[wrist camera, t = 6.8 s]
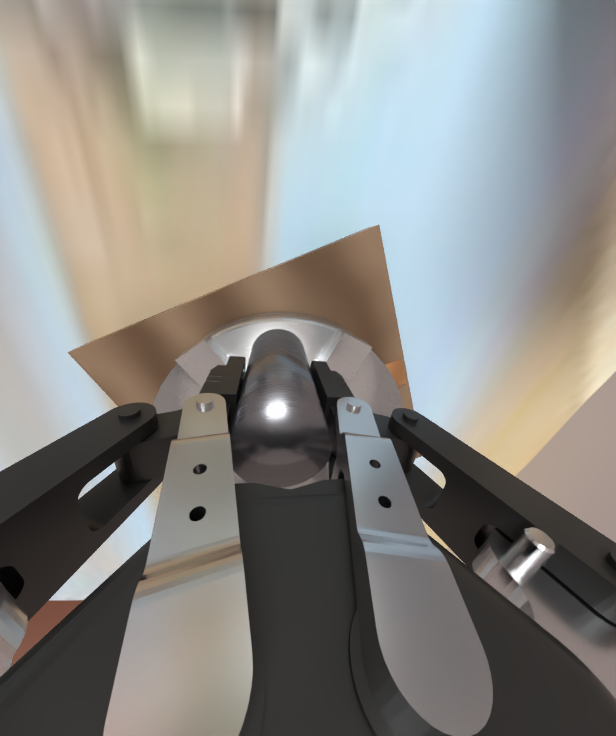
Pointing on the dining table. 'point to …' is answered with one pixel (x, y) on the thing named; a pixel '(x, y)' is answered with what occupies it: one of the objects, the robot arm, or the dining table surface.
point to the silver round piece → (281, 391)
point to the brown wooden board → (251, 296)
